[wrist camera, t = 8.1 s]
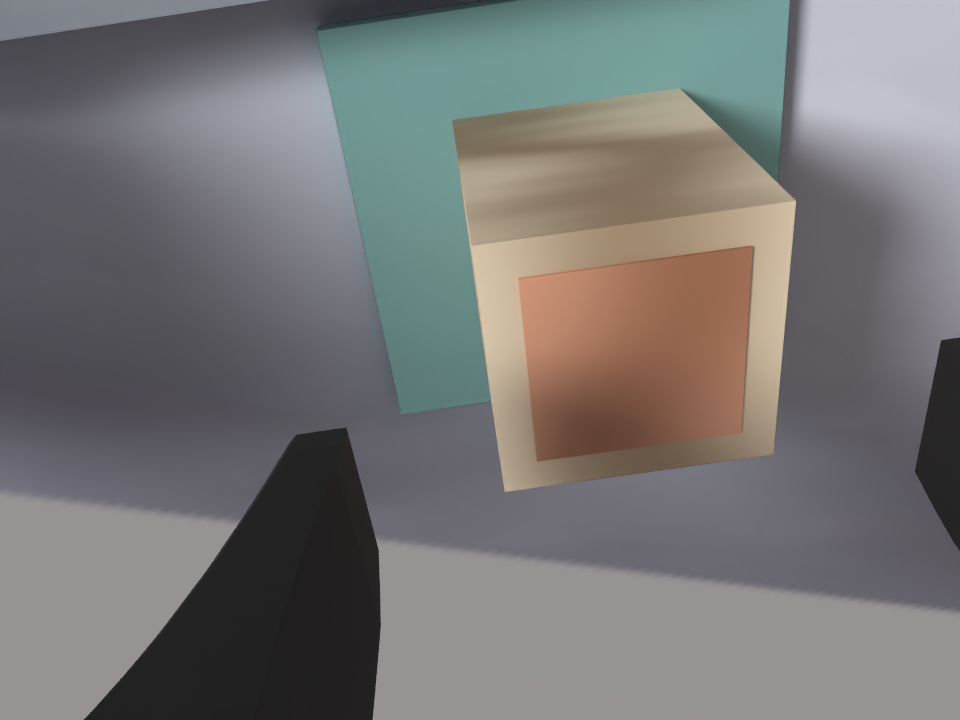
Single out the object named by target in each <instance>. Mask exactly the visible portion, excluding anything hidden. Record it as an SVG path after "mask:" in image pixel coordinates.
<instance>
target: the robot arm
mask: <svg viewBox="0 0 960 720" xmlns="http://www.w3.org/2000/svg"><path fill="white" fill-rule="evenodd" d="M915 472H916V474H917V476H918V478H919V480H920V482H921V484H922V486H923V488H924V490H925V491H926V493H927V495H928V497H929V499H930V501H931V503H932V505H933V507H934V509H935V510H936V512H937V514H938V516H939V517H940V519H941V521H942V523H943V524H944V526H945V528H946V529H947V531H948V533H949V535H950V536H951V538H952V540H953V542H954V543H955V544H956V546H957V547H958V549H959V550H960V338H954V339H947V340H941V344H940V349H939V354H938V359H937V364H936V369H935V374H934V379H933V384H932V389H931V394H930V399H929V404H928V409H927V414H926V419H925V424H924V429H923V434H922V439H921V444H920V449H919V454H918V459H917V464H916V469H915ZM378 553H379V550H378V546H377V542H376V539H375V535H374V531H373V527H372V523H371V520H370V516H369V512H368V508H367V504H366V501H365V497H364V493H363V489H362V485H361V482H360V478H359V474H358V470H357V466H356V463H355V459H354V455H353V451H352V448H351V444H350V440H349V436H348V432H347V429H346V428H340V429H333V430H326V431H319V432H312V433H306V434H299V435H296V436H295V437H294V438H293V440H292V441H291V442H290V443H289V445H288V447H287V448H286V450H285V451H284V453H283V454H282V456H281V458H280V459H279V461H278V463H277V464H276V466H275V467H274V469H273V471H272V472H271V474H270V476H269V477H268V479H267V480H266V482H265V484H264V485H263V487H262V488H261V490H260V492H259V493H258V495H257V496H256V498H255V499H254V501H253V503H252V504H251V506H250V507H249V509H248V510H247V512H246V513H245V515H244V517H243V518H242V520H241V521H240V522H239V524H238V525H237V527H236V528H235V530H234V531H233V533H232V534H231V536H230V537H229V539H228V540H227V542H226V543H225V545H224V546H223V547H222V549H221V551H220V552H219V553H218V555H217V556H216V558H215V559H214V561H213V562H212V564H211V565H210V567H209V568H208V569H207V571H206V572H205V573H204V575H203V576H202V578H201V579H200V580H199V581H198V583H197V584H196V585H195V587H194V588H193V589H192V591H191V592H190V593H189V595H188V596H187V597H186V599H185V600H184V601H183V603H182V604H181V605H180V607H179V608H178V610H177V611H176V612H175V613H174V615H173V616H172V617H171V619H170V620H169V621H168V623H167V624H166V625H165V626H164V628H163V629H162V630H161V632H160V633H159V634H158V635H157V637H156V638H155V639H154V640H153V642H152V643H151V644H150V645H149V646H148V647H147V649H146V650H145V651H144V652H143V654H142V655H141V656H140V657H139V659H138V660H137V661H136V662H135V663H134V664H133V665H132V667H131V668H130V669H129V670H128V671H127V672H126V674H125V675H124V676H123V677H122V678H121V679H120V681H119V682H118V683H117V684H116V685H115V686H114V687H113V688H112V690H111V691H110V692H109V693H108V694H107V695H106V696H105V697H104V699H103V700H102V701H101V702H100V703H99V704H98V705H97V706H96V708H95V709H94V710H93V711H92V712H91V713H90V714H89V715H88V716H87V717H86V718H85V719H84V720H372V719H373V708H374V697H375V686H376V675H377V662H378V652H379V640H380V628H381V621H380V619H381V618H380V580H379V554H378Z"/></svg>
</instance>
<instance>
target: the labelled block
mask: <svg viewBox="0 0 960 720" xmlns="http://www.w3.org/2000/svg"><path fill="white" fill-rule="evenodd" d="M452 123H453V131H454V138H455V145H456V153H457V160H458V167H459V175H460V182H461V189H462V197H463V204H464V212H465V219H466V226H467V234H468V241H469V248H470V256H471V263H472V270H473V278H474V285H475V293H476V300H477V307H478V315H479V322H480V328H481V335H482V342H483V349H484V355H485V362H486V369H487V376H488V382H489V389H490V396H491V403H492V410H493V416H494V423H495V430H496V437H497V443H498V450H499V457H500V464H501V470H502V477H503V484H504V491H505V492H508V491H515V490H522V489H529V488H537V487H544V486H551V485H558V484H565V483H573V482H580V481H587V480H594V479H601V478H608V477H616V476H623V475H630V474H637V473H644V472H652V471H659V470H666V469H673V468H680V467H688V466H695V465H702V464H709V463H716V462H724V461H731V460H738V459H745V458H752V457H760V456H767V455H773V453H774V442H775V430H776V419H777V408H778V397H779V386H780V375H781V364H782V353H783V342H784V330H785V319H786V308H787V297H788V286H789V275H790V264H791V253H792V241H793V230H794V219H795V208H796V200H795V199H794V198H793V197H792V196H791V195H790V194H789V193H788V192H787V191H786V190H784V189H783V188H782V187H781V186H780V185H779V184H778V183H777V182H776V181H775V180H774V179H773V178H772V177H771V176H770V175H769V174H768V173H767V172H766V171H765V170H764V169H763V168H762V167H761V166H760V165H759V164H758V163H757V162H756V161H754V160H753V159H752V158H751V157H750V156H749V155H748V154H747V153H746V152H745V151H744V150H743V149H742V148H741V147H740V146H739V145H738V144H737V143H736V142H735V141H734V140H733V139H732V138H731V137H730V136H729V135H728V134H727V133H726V132H724V131H723V130H722V129H721V128H720V127H719V126H718V125H717V124H716V123H715V122H714V121H713V120H712V119H711V118H710V117H709V116H708V115H707V114H706V113H705V112H704V111H703V110H702V109H701V108H700V107H699V106H698V105H697V104H696V103H694V102H693V101H692V100H691V99H690V98H689V97H688V96H687V95H686V94H685V93H684V92H683V91H682V90H681V89H680V88H679V89H671V90H664V91H657V92H650V93H643V94H636V95H628V96H621V97H614V98H607V99H600V100H592V101H585V102H578V103H571V104H564V105H557V106H549V107H542V108H535V109H528V110H521V111H513V112H506V113H499V114H492V115H485V116H478V117H470V118H463V119H456V120H452Z"/></svg>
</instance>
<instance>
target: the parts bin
mask: <svg viewBox="0 0 960 720" xmlns="http://www.w3.org/2000/svg"><path fill="white" fill-rule="evenodd" d="M261 1H268V0H0V41H4V40H11V39H17V38H24V37H30V36H37V35H44V34H50V33H57V32H63V31H70V30H76V29H83V28H90V27H96V26H103V25H109V24H116V23H123V22H129V21H136V20H142V19H149V18H156V17H162V16H169V15H175V14H182V13H188V12H195V11H202V10H208V9H215V8H221V7H228V6H235V5H241V4H248V3H254V2H261Z"/></svg>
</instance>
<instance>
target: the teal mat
mask: <svg viewBox="0 0 960 720" xmlns="http://www.w3.org/2000/svg"><path fill="white" fill-rule="evenodd" d="M789 5H790V0H486V1H479V2H472V3H466V4H459V5H453V6H446V7H439V8H433V9H426V10H420V11H413V12H406V13H400V14H393V15H387V16H380V17H373V18H367V19H360V20H354V21H347V22H340V23H334V24H327V25H321V26H318V28H317V30H316V33H317V37H318V42H319V46H320V51H321V55H322V60H323V64H324V69H325V73H326V78H327V82H328V87H329V91H330V96H331V100H332V105H333V109H334V114H335V118H336V123H337V127H338V132H339V136H340V141H341V145H342V150H343V154H344V159H345V163H346V168H347V172H348V177H349V181H350V186H351V190H352V195H353V199H354V204H355V208H356V213H357V217H358V222H359V226H360V231H361V235H362V240H363V244H364V249H365V253H366V258H367V262H368V267H369V271H370V276H371V280H372V285H373V289H374V294H375V298H376V303H377V307H378V312H379V316H380V321H381V325H382V330H383V334H384V339H385V343H386V348H387V352H388V357H389V361H390V366H391V370H392V375H393V379H394V384H395V388H396V393H397V397H398V402H399V406H400V411H401V415H403V414H410V413H417V412H423V411H430V410H437V409H444V408H450V407H457V406H464V405H471V404H477V403H484V402H491V396H490V389H489V382H488V376H487V369H486V362H485V355H484V349H483V342H482V335H481V328H480V322H479V315H478V307H477V300H476V293H475V285H474V278H473V270H472V263H471V256H470V248H469V241H468V234H467V226H466V219H465V212H464V204H463V197H462V189H461V182H460V175H459V167H458V160H457V153H456V145H455V138H454V131H453V123H452V120H456V119H463V118H470V117H478V116H485V115H492V114H499V113H506V112H513V111H521V110H528V109H535V108H542V107H549V106H557V105H564V104H571V103H578V102H585V101H592V100H600V99H607V98H614V97H621V96H628V95H636V94H643V93H650V92H657V91H664V90H671V89H679V88H680V89H681V90H682V91H683V92H684V93H685V94H686V95H687V96H688V97H689V98H690V99H691V100H692V101H693V102H694V103H696V104H697V105H698V106H699V107H700V108H701V109H702V110H703V111H704V112H705V113H706V114H707V115H708V116H709V117H710V118H711V119H712V120H713V121H714V122H715V123H716V124H717V125H718V126H719V127H720V128H721V129H722V130H723V131H724V132H726V133H727V134H728V135H729V136H730V137H731V138H732V139H733V140H734V141H735V142H736V143H737V144H738V145H739V146H740V147H741V148H742V149H743V150H744V151H745V152H746V153H747V154H748V155H749V156H750V157H751V158H752V159H753V160H754V161H756V162H757V163H758V164H759V165H760V166H761V167H762V168H763V169H764V170H765V171H766V172H767V173H768V174H769V175H770V176H771V177H772V178H773V179H774V180H775V181H776V182H777V183H778V174H779V158H780V143H781V128H782V112H783V97H784V82H785V66H786V51H787V36H788V20H789Z"/></svg>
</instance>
